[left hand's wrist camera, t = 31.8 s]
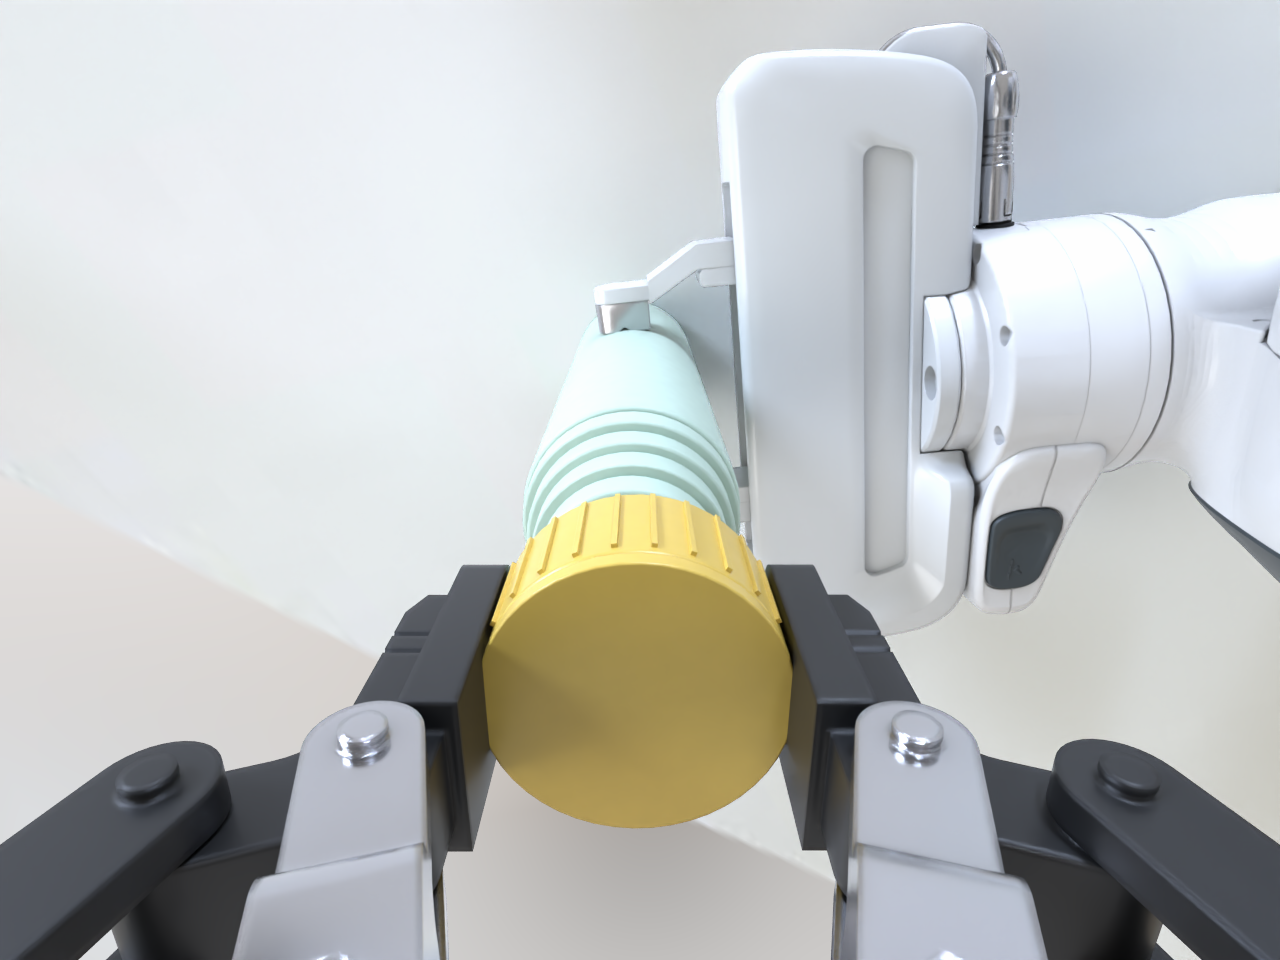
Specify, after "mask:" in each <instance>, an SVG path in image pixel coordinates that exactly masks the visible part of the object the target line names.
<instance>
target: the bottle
mask: <svg viewBox="0 0 1280 960" xmlns="http://www.w3.org/2000/svg"><path fill="white" fill-rule="evenodd" d="M649 311H650V323H651V329H646V330H629V329H627V328H625V327H624V328H623V329H622V330H621V331H620V332H615V333H610V334H602V333H600V332H599V325H598V318H597V317H596V318H595V319H594V320H593V321H592V322H591V323H590V325H589V326H588V328H587V329H586V331H585V333H584V335H583V337H582V340H581V342H580V345H579V347H578V350H577V352H576V355H575V357H574V360H573V363H572V365H571V368H570V370H569V373H568V375H567V378H566V380H565V383H564V385H563V388H562V390H561V393H560V396H559V398H558V401H557V403H556V406H555V408H554V411H553V413H552V416H551V418H550V421H549V423H548V426H547V429H546V431H545V434H544V436H543V439H542V441H541V444H540V446H539V449H538V451H537V454H536V456H535V459H534V461H533V464H532V467H531V469H530V472H529V475H528V478H527V481H526V486H525V492H524V507H523V529H524V536H525V540H526V543H527V540H528V539H529V538H530V537H532V538H534V537H535V536H536V535H537V534H538V533H539V532H540V531H541V530H542V529H543V528H544V527H546V526H547V525H548V524H550V523H551V519H552V518H553V517H555V516H556V517H557V518H558V517H559V516H561V515H563V514H565V513H566V512H568V511H570V510H572V509H574V508H576V507H579V506H581V503H582V502H585V501H587V503H588V502H592V501H595V500H599V499H602V498H607V497H613V496H615V494H621V495H639V494H642V495H650V493H654V494H656V496H662V497H667V498H671V499H676V500H679V501H682V502H684V500H686V501H689V502H690V504H691V505H694V506H696V507H698V508H700V509H702V510H704V511H706V512H708V513H710V514H712V515H713V516H714V515H715V514H716V515H718V516H719V517H720V520H721V521H722V522H724V523H725V524H726V525H727V526H728V527H730V528H731V529H732V530H733V531H734V532H735V533H736V534H738V536H739V531H740V495H739V488H738V483H737V480H736V476H735V473H734V470H733V467H732V464H731V462H730V459H729V456H728V453H727V450H726V448H725V445H724V442H723V439H722V436H721V433H720V431H719V428H718V425H717V422H716V419H715V417H714V414H713V411H712V408H711V405H710V402H709V400H708V397H707V394H706V391H705V388H704V385H703V383H702V380H701V377H700V374H699V371H698V369H697V366H696V363H695V360H694V357H693V354H692V352H691V349H690V346H689V343H688V340H687V338H686V335H685V333H684V331H683V330H682V328H681V326H680V325H679V324H678V322H677V321H676V320H675V319H674V318H673V317H672V316H671V315H670V314H668V313H667V312H666V311H664V310H662V309H660V308H659V307H656V306H654V305H651V304H649Z"/></svg>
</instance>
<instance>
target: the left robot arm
mask: <svg viewBox="0 0 1280 960" xmlns="http://www.w3.org/2000/svg"><path fill="white" fill-rule="evenodd" d="M509 569H510V566H509V565H463V566H462V567H461V568H460V571H459V573H458V575H457V577H456V579H455V581H454V583H453V585H452V587H451V589H450V591H449V593H448V595H428V596H427V597H425V598H424V599H423V600H421V601H420V602H419V603H417V604H416V605H415V606H413V607H412V608H411V609H409V610H408V611H407V612H406V613H405V614H404V616H403V618H402V620H401V621H400V623H399V625H398V627H397V628H396V630H395V635H394V636H392V637H391V639H390V641H389V643H388V644H387V646H386V648H385V653H382V655H381V657H380V659H379V660H378V662H377V664H376V666H375V668H374V669H373V671H372V673H371V675H370V676H369V678H368V680H367V682H366V684H365V685H364V687H363V689H362V691H361V692H360V694H359V696H358V698H357V700H356V701H355V703H354V705H353V706H350V707H347V708H344V709H342V710H340V711H337V712H335V713H334V714H332V715H330V716H328V717H327V718H325V719H324V720H322V721H321V722H320V723H319V724H317V725H316V726H315V727H314V728H313V729H312V730H311V731H310V733H309V734H308V735H307V737H306V738H305V740H304V742H303V744H302V747H301V751H300V753H297V754H294V755H292V756H289V757H286V758H282V759H279V760H275V761H271V762H266V763H262V764H257V765H253V766H249V767H244V768H239V769H235V770H230V771H226V772H225V769H224V765H223V761H222V758H221V755H220V754H219V752H218V751H217V750H216V749H215V748H213V747H212V746H210V745H207V744H205V743H200V742H195V741H180V742H171V743H166V744H161V745H157V746H153V747H150V748H147V749H144V750H141V751H138V752H136V753H134V754H132V755H129V756H127V757H125V758H123V759H121V760H119V761H118V762H116V763H114V764H112V765H111V766H109V767H108V768H106V769H105V770H103V771H102V772H101V773H99V774H98V775H96V776H95V777H94V778H92V779H91V780H89V781H88V782H87V783H85V784H84V785H82V786H81V787H80V788H78V789H77V790H76V791H74V792H73V793H71V794H70V795H69V796H67V797H66V798H64V799H63V800H62V801H60V802H59V803H57V804H56V805H55V806H53V807H52V808H51V809H49V810H48V811H46V812H45V813H44V814H42V815H41V816H40V817H38V818H37V819H35V820H34V821H33V822H31V823H30V824H28V825H27V826H26V827H24V828H23V829H21V830H20V831H19V832H17V833H16V834H14V835H13V836H12V837H10V838H9V839H8V840H6V841H5V842H3V843H2V844H1V845H0V960H78V959H80V958H81V957H82V956H83V955H84V954H85V953H86V952H87V951H88V950H89V949H90V948H91V947H93V946H94V945H95V944H96V943H97V942H98V941H99V940H100V939H101V938H102V937H103V936H104V935H105V934H106V933H108V932H109V931H110V930H111V929H112V932H113V935H114V938H115V940H116V943H117V946H118V949H117V950H116V951H115V952H114V953H113V954H112V955H111V956H110V957H109V958H108V959H106V960H449V950H448V926H447V904H446V891H445V883H444V875H443V866H444V862H445V859H446V855H447V852H448V851H473V848H474V844H475V840H476V836H477V832H478V828H479V824H480V820H481V817H482V812H483V809H484V805H485V801H486V797H487V793H488V789H489V785H490V781H491V777H492V773H493V770H494V766H495V762H496V757H495V756H494V754H493V753H492V751H491V749H490V745H489V735H488V723H487V712H486V701H485V690H484V678H483V667H482V658H483V655H484V652H485V649H486V646H487V644H488V641H489V638H490V635H491V632H492V629H493V626H490V623H491V620H492V617H493V614H494V611H495V609H496V606H497V603H498V600H499V597H500V594H501V592H502V589H503V586H504V583H505V580H506V578H507V575H508V572H509ZM765 573H766V576H767V579H768V582H769V585H770V588H771V591H772V594H773V597H774V600H775V603H776V606H777V609H778V612H779V615H780V618H781V621H782V623H779V624H780V627H781V630H782V633H783V636H784V639H785V642H786V646H787V648H788V651H789V654H790V658H791V661H792V665H793V673H792V686H791V697H790V709H789V720H788V732H787V742H786V744H785V746H784V748H783V749H782V751H781V753H780V755H779V758H780V762H781V766H782V770H783V774H784V778H785V782H786V786H787V790H788V794H789V798H790V802H791V807H792V811H793V815H794V819H795V823H796V827H797V831H798V835H799V839H800V843H801V847H802V850H827V852H828V855H829V859H830V863H831V866H832V870H833V873H834V876H835V879H836V883H835V891H834V903H833V926H832V949H831V960H1174V959H1172V958H1171V957H1170V956H1169V955H1168V954H1167V953H1166V952H1165V951H1164V950H1163V949H1162V948H1161V947H1160V946H1159V945H1158V944H1157V943H1156V942H1157V939H1158V936H1159V933H1160V930H1161V927H1162V924H1164V925H1165V926H1166V927H1167V928H1168V929H1169V930H1170V931H1171V932H1172V933H1173V934H1175V935H1176V936H1177V937H1178V938H1179V939H1180V940H1181V941H1182V942H1183V943H1184V944H1185V945H1186V946H1187V947H1189V948H1190V949H1191V950H1192V951H1193V952H1194V953H1195V954H1196V955H1197V956H1198V957H1199V958H1200V959H1201V960H1280V845H1279V844H1278V843H1277V842H1275V841H1274V840H1272V839H1271V838H1270V837H1268V836H1267V835H1266V834H1264V833H1263V832H1261V831H1260V830H1259V829H1257V828H1256V827H1254V826H1253V825H1252V824H1250V823H1249V822H1247V821H1246V820H1245V819H1243V818H1242V817H1241V816H1239V815H1238V814H1236V813H1235V812H1234V811H1232V810H1231V809H1229V808H1228V807H1227V806H1225V805H1224V804H1222V803H1221V802H1220V801H1218V800H1217V799H1216V798H1214V797H1213V796H1211V795H1210V794H1209V793H1207V792H1206V791H1204V790H1203V789H1202V788H1200V787H1199V786H1198V785H1196V784H1195V783H1193V782H1192V781H1191V780H1189V779H1188V778H1186V777H1185V776H1184V775H1182V774H1181V773H1179V772H1178V771H1177V770H1175V769H1174V768H1172V767H1171V766H1169V765H1168V764H1166V763H1165V762H1163V761H1162V760H1160V759H1158V758H1156V757H1154V756H1152V755H1150V754H1148V753H1146V752H1144V751H1141V750H1139V749H1136V748H1134V747H1131V746H1128V745H1125V744H1121V743H1117V742H1113V741H1107V740H1099V739H1082V740H1076V741H1072V742H1070V743H1067V744H1065V745H1064V746H1062V747H1061V748H1060V749H1059V750H1058V752H1057V754H1056V757H1055V760H1054V764H1053V768H1052V771H1048V770H1044V769H1039V768H1035V767H1030V766H1026V765H1021V764H1017V763H1012V762H1008V761H1003V760H999V759H995V758H992V757H988V756H985V755H983V754H980V751H979V747H978V744H977V742H976V740H975V738H974V737H973V735H972V734H971V733H970V731H969V730H968V729H967V728H966V727H965V726H964V725H963V724H961V723H960V722H959V721H958V720H956V719H955V718H953V717H952V716H950V715H948V714H946V713H945V712H943V711H940V710H938V709H936V708H933V707H930V706H927V705H924V704H921V703H920V701H919V699H918V697H917V696H916V694H915V692H914V690H913V688H912V687H911V685H910V683H909V681H908V679H907V677H906V676H905V674H904V672H903V670H902V668H901V667H900V665H899V663H898V661H897V659H896V658H895V656H894V654H893V652H890V647H889V645H888V643H887V641H886V640H885V638H884V636H883V635H881V631H880V629H879V627H878V625H877V623H876V621H875V620H874V618H873V616H872V614H871V612H870V611H869V610H867V609H866V608H865V607H863V606H862V605H861V604H859V603H858V602H857V601H855V600H854V599H853V598H851V597H850V596H849V595H828V594H827V591H826V589H825V587H824V585H823V583H822V581H821V579H820V577H819V574H818V572H817V570H816V568H815V566H814V565H812V564H768V565H767V566H766V569H765Z"/></svg>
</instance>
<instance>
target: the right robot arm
mask: <svg viewBox="0 0 1280 960" xmlns="http://www.w3.org/2000/svg"><path fill="white" fill-rule="evenodd" d="M986 56H987V57H988V59H989V62H990V65H991V69H992V73H991V74H987V75H986ZM1018 105H1019V83H1018V77H1017V72H1016V71H1014V70H1010V71H1007V68H1006V62H1005V58H1004V55H1003V51H1002V49H1001V47H1000V45H999V44H998V42H997V41H996V40H995V38H994V37H993V36H992V35H991V34H990V33H989V32H987V31H986V30H985V29H983V28H982V27H980V26H977V25H974V24H971V23H965V22H953V23H945V24H937V25H929V26H921V27H914V28H911V29H908V30H905V31H903V32H901V33H899V34H897V35H895V36H894V37H892V38H891V39H890V40H888V41H887V42H886V43H885V44H884V45H883V46H882V47H881V48H880V50H879V51H878V50H855V49H811V50H792V51H777V52H768V53H761V54H757V55H754V56H752V57H750V58H748V59H746V60H745V61H743V62H742V63H741V64H740V65H739V66H738V67H737V68H736V69H735V70H734V71H733V72H732V74H731V75H730V76H729V78H728V79H727V80H726V82H725V83H724V85H723V87H722V88H721V90H720V92H719V94H718V97H717V101H716V109H717V125H718V140H719V155H720V170H721V185H722V199H723V214H724V229H725V237H720V238H712V239H704V240H696V241H691V242H690V243H689V244H687V245H686V246H685V247H683V248H682V249H681V250H679V251H678V252H677V253H675V254H674V255H673V256H671V257H670V258H669V259H668V260H666V261H665V262H664V263H662V264H661V265H660V266H658V267H657V268H656V269H654V270H653V271H652V272H650V273H649V274H648V275H647V279H644V280H635V281H627V282H618V283H609V284H604V285H599V286H596V287H595V288H594V297H595V304H596V312H597V318H598V325H599V332H600V333H602V334H610V333H615V332H620V331H621V330H622V329H623V328H624V327H625V328H627V329H629V330H646V329H651V323H650V311H649V304H652V303H653V302H654V301H656V300H657V299H659V298H660V297H661V296H663V295H664V294H665V293H667V292H668V291H670V290H671V289H672V288H674V287H675V286H676V285H678V284H679V283H680V282H682V281H683V280H685V279H686V278H687V277H689V276H690V275H691V274H693V273H694V272H695V274H696V279H697V280H698V282H699V284H700V285H701V286H702V287H704V288H706V287H716V286H727V285H728V289H729V303H730V318H731V333H732V348H733V363H734V378H735V392H736V407H737V422H738V437H739V452H740V467H734V468H733V470H734V473H735V476H736V480H737V483H738V488H739V495H740V522H744V526H745V541H746V544H747V546H748V547H749V549H750V550H751V552H752V554H753V555H754V557H755V558H756V560H757V561H758V560H761V562H762V564H763V567H764V570H765V569H766V566H767V565H768V564H812V565H814V566H815V568H816V570H817V572H818V574H819V577H820V579H821V581H822V583H823V585H824V587H825V589H826V591H827V594H828V595H849V596H850V597H851V598H853V599H854V600H855V601H857V602H858V603H859V604H861V605H862V606H863V607H865V608H866V609H867V610H869V611H870V612H871V614H872V616H873V618H874V620H875V621H876V623H877V625H878V627H879V629H880V631H881V635H883V636H884V637H885V636H890V635H896V634H901V633H905V632H910V631H914V630H917V629H920V628H923V627H926V626H928V625H931V624H933V623H935V622H937V621H938V620H940V619H942V618H943V617H945V616H946V615H947V614H948V613H949V612H950V611H951V610H953V608H954V607H955V606H956V605H957V603H958V602H959V600H960V599H961V596H962V594H963V595H964V596H965V597H966V598H967V599H968V600H969V601H970V602H971V603H972V604H973V605H974V606H975V607H977V608H978V609H979V610H980V611H982V612H985V613H989V614H1005V613H1013V612H1018V611H1021V610H1023V609H1025V608H1027V607H1028V606H1029V605H1030V604H1031V603H1032V602H1033V601H1034V600H1035V598H1036V597H1037V595H1038V593H1039V591H1040V589H1041V587H1042V585H1043V583H1044V580H1045V578H1046V576H1047V574H1048V571H1049V569H1050V567H1051V565H1052V562H1053V560H1054V558H1055V556H1056V554H1057V552H1058V549H1059V547H1060V545H1061V543H1062V541H1063V539H1064V537H1065V535H1066V533H1067V531H1068V529H1069V527H1070V525H1071V523H1072V521H1073V519H1074V518H1075V516H1076V514H1077V512H1078V510H1079V509H1080V507H1081V505H1082V503H1083V502H1084V500H1085V498H1086V497H1087V495H1088V494H1089V492H1090V490H1091V489H1092V487H1093V486H1094V484H1095V482H1096V481H1097V479H1098V477H1099V476H1100V473H1102V472H1110V471H1114V470H1117V469H1120V468H1123V467H1126V466H1130V465H1133V464H1137V463H1142V462H1161V463H1166V464H1170V465H1173V466H1176V467H1178V468H1180V469H1182V470H1183V471H1185V472H1186V473H1187V474H1188V476H1189V477H1190V479H1191V481H1190V482H1189V484H1188V485H1189V489H1190V491H1191V492H1192V493H1193V495H1194V496H1195V497H1196V499H1197V500H1198V501H1199V502H1200V504H1201V505H1202V506H1203V507H1204V508H1205V509H1206V510H1207V511H1208V513H1209V514H1210V515H1211V516H1212V517H1213V518H1214V519H1215V520H1216V521H1217V522H1218V523H1219V524H1220V525H1221V526H1222V527H1223V528H1224V529H1225V530H1226V531H1227V532H1228V533H1229V534H1230V535H1231V536H1232V537H1233V538H1235V539H1236V540H1237V541H1238V542H1239V543H1240V544H1241V545H1242V546H1243V547H1244V548H1245V549H1246V550H1247V551H1248V552H1249V553H1250V554H1251V555H1252V556H1253V557H1254V558H1255V559H1256V560H1257V561H1258V562H1259V563H1260V564H1261V565H1262V566H1263V567H1264V568H1265V569H1266V570H1267V571H1268V572H1269V573H1270V574H1271V575H1272V576H1273V577H1274V578H1275V579H1276V580H1278V581H1279V582H1280V193H1271V194H1260V195H1251V196H1242V197H1235V198H1228V199H1223V200H1219V201H1215V202H1211V203H1208V204H1205V205H1202V206H1199V207H1197V208H1195V209H1192V210H1190V211H1188V212H1185V213H1183V214H1180V215H1177V216H1173V217H1168V218H1146V217H1141V216H1137V215H1131V214H1124V213H1097V214H1088V215H1079V216H1071V217H1062V218H1054V219H1045V220H1036V221H1028V222H1017V223H1014V222H1012V206H1013V185H1014V163H1013V160H1014V155H1013V153H1012V151H1013V144H1012V142H1013V135H1012V133H1013V129H1014V117H1017V112H1018ZM975 225H976V228H973V226H975Z"/></svg>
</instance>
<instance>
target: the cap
mask: <svg viewBox="0 0 1280 960" xmlns="http://www.w3.org/2000/svg"><path fill="white" fill-rule="evenodd" d="M779 623H782V621H781V618H780V615H779V612H778V609H777V606H776V603H775V600H774V597H773V594H772V591H771V588H770V585H769V582H768V579H767V576H766V573H765V570H764V567H763V564H762V562H761V560H758V561H757V560H756V558H755V557H754V555H753V554H752V552H751V550H750V549H749V547H748V546H747V544H746V541H745V538H744V537H743V536H742V535H740V536H738V534H736V533H735V532H734V531H733V530H732V529H731V528H730V527H728V526H727V525H726V524H725V523H724V522H722V521H721V520H720V517H719V516H718V515H716V514H715V515H714V516H713V515H712V514H710V513H708V512H706V511H704V510H702V509H700V508H698V507H696V506H694V505H691V504H690V502H689V501H686V500H684V502H682V501H679V500H676V499H671V498H667V497H662V496H656V494H654V493H650V495H642V494H639V495H621V494H615V496H613V497H607V498H602V499H599V500H595V501H592V502H588V503H587V501H585V502H582V503H581V506H579V507H576V508H574V509H572V510H570V511H568V512H566V513H565V514H563V515H561V516H559V517H558V518H557V517H556V516H555V517H553V518H552V519H551V523H550V524H548V525H547V526H546V527H544V528H543V529H542V530H541V531H540V532H539V533H538V534H537V535H536V536H535V537H534V538H532V537H530V538H529V539H528V540H527V543H526V546H525V549H524V551H523V552H522V554H521V555H520V557H519V559H518V561H517V563H514V562H512V564H511V566H510V569H509V572H508V575H507V578H506V580H505V583H504V586H503V589H502V592H501V594H500V597H499V600H498V603H497V606H496V609H495V611H494V614H493V617H492V620H491V623H490V626H493V629H492V632H491V635H490V638H489V641H488V644H487V646H486V649H485V652H484V655H483V658H482V667H483V678H484V690H485V701H486V712H487V723H488V735H489V745H490V749H491V751H492V753H493V754H494V756H495V757H496V759H497V760H498V762H499V764H500V765H501V766H502V768H503V769H504V770H505V771H506V772H507V773H508V775H509V776H510V777H511V778H512V779H513V780H514V781H515V782H516V783H517V784H518V785H519V786H521V787H522V788H523V789H524V790H525V791H526V792H528V793H529V794H530V795H532V796H533V797H535V798H536V799H538V800H539V801H541V802H542V803H544V804H546V805H548V806H549V807H551V808H553V809H555V810H557V811H559V812H561V813H564V814H566V815H569V816H571V817H574V818H576V819H580V820H584V821H587V822H591V823H594V824H600V825H605V826H611V827H622V828H654V827H662V826H669V825H674V824H679V823H683V822H687V821H691V820H694V819H697V818H700V817H702V816H705V815H708V814H710V813H712V812H714V811H716V810H718V809H721V808H723V807H725V806H726V805H728V804H730V803H731V802H733V801H734V800H736V799H738V798H739V797H741V796H742V795H743V794H744V793H746V792H747V791H748V790H749V789H751V788H752V787H753V786H754V785H755V784H756V783H757V782H758V781H759V780H760V779H761V778H762V777H763V776H764V775H765V774H766V773H767V772H768V771H769V769H770V768H771V767H772V765H773V764H774V763H775V761H776V760H777V759H778V757H779V755H780V753H781V751H782V749H783V748H784V746H785V744H786V742H787V732H788V720H789V709H790V697H791V686H792V673H793V665H792V661H791V658H790V654H789V651H788V648H787V646H786V642H785V639H784V636H783V633H782V630H781V627H780V624H779Z"/></svg>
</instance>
